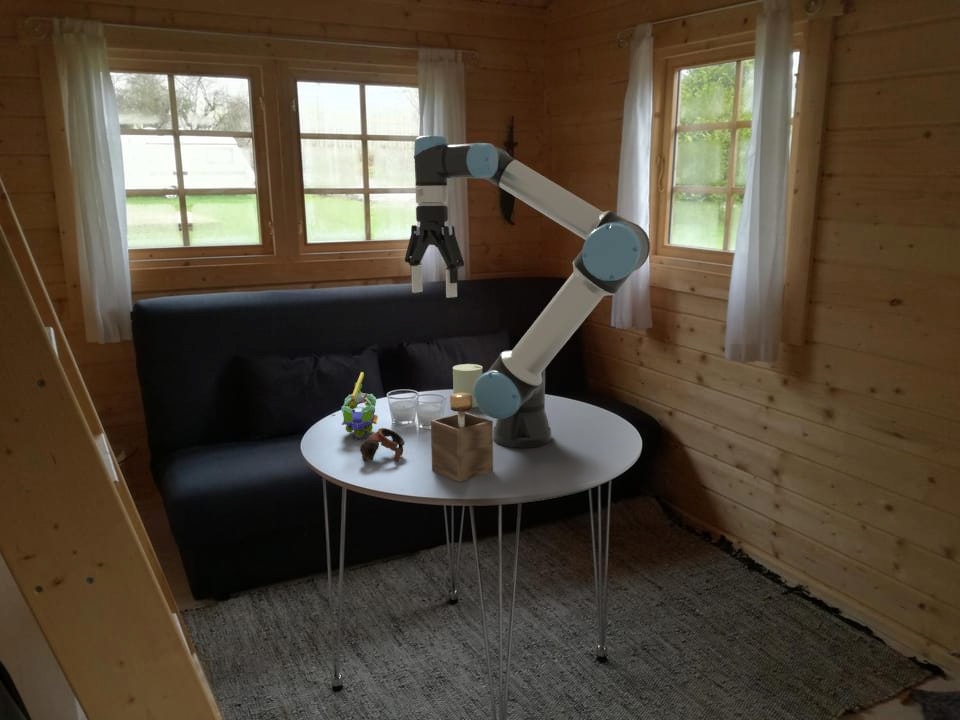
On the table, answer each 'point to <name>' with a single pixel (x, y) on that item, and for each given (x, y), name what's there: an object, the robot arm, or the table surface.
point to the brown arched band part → (372, 444)
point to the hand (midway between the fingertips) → (434, 294)
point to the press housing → (462, 447)
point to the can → (466, 379)
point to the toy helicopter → (359, 419)
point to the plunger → (461, 406)
